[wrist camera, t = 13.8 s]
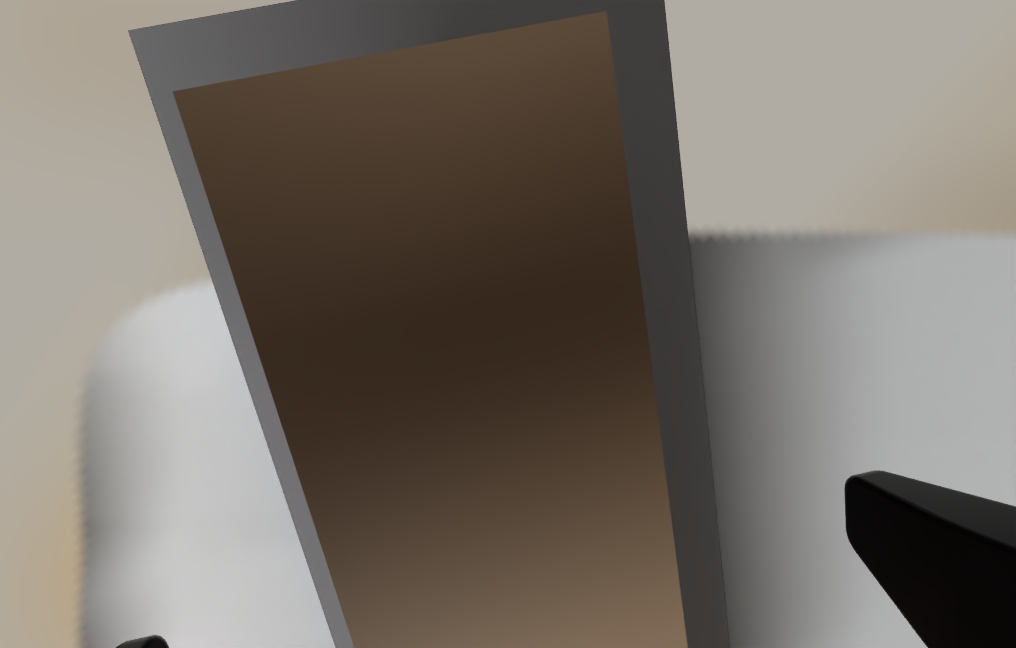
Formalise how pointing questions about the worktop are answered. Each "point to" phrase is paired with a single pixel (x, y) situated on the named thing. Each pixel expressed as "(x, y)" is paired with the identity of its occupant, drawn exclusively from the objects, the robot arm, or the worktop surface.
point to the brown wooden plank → (455, 334)
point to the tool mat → (654, 199)
